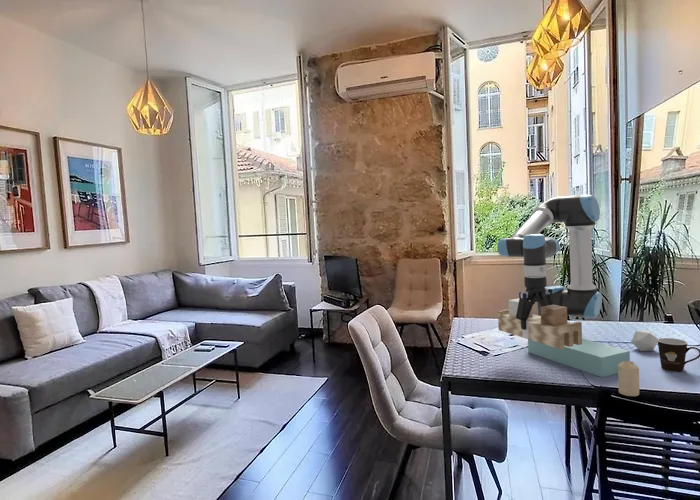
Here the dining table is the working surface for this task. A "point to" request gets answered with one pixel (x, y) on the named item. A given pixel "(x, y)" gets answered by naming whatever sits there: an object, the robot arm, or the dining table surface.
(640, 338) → the die
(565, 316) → the brown wooden cube
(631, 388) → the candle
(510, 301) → the light grey cube
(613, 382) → the dining table surface
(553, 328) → the board
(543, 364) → the dining table surface
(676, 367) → the coffee mug
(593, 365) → the dock
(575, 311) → the robot arm
